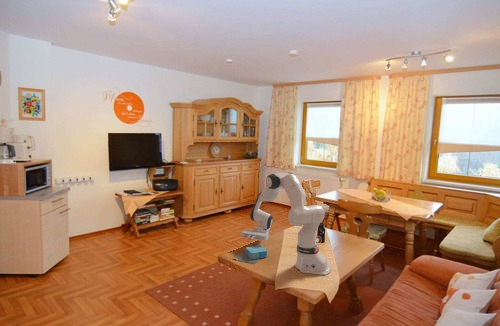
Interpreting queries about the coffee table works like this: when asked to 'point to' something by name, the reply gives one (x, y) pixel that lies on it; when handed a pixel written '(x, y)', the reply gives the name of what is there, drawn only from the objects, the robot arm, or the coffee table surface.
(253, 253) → the data package
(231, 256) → the coffee table surface
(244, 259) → the mat
